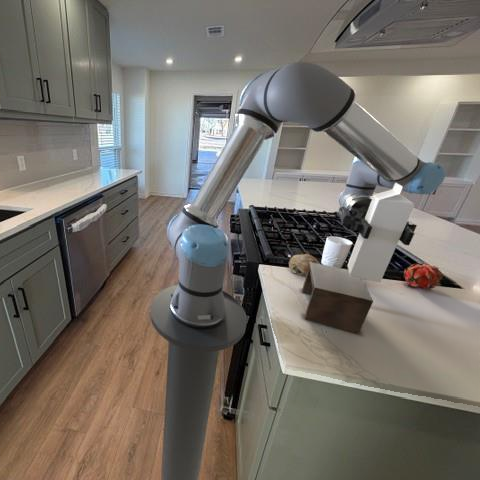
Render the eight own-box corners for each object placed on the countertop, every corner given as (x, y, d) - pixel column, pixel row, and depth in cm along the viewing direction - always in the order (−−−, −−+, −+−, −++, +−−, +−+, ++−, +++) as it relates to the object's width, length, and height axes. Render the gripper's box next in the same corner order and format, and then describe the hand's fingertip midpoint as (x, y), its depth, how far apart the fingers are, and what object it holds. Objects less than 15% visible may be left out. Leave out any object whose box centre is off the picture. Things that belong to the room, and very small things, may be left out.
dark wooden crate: (304, 319, 67) (314, 287, 63) (301, 290, 80) (310, 262, 76) (358, 334, 63) (373, 301, 59) (346, 300, 75) (358, 271, 71)
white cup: (332, 259, 100) (339, 235, 96) (348, 269, 93) (358, 244, 89) (314, 260, 99) (321, 236, 95) (330, 270, 92) (338, 245, 88)
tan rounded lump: (283, 276, 94) (283, 261, 89) (296, 258, 98) (297, 243, 93) (312, 287, 88) (314, 272, 82) (324, 268, 92) (327, 252, 87)
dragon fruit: (429, 287, 86) (406, 298, 83) (409, 265, 90) (387, 275, 86) (457, 278, 79) (433, 290, 75) (435, 255, 82) (411, 265, 79)
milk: (349, 275, 61) (383, 185, 53) (347, 265, 66) (377, 180, 57) (381, 283, 59) (422, 188, 50) (376, 271, 63) (413, 183, 55)
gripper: (399, 227, 70) (440, 262, 51) (320, 216, 78) (329, 243, 59) (410, 200, 67) (458, 227, 48) (327, 192, 75) (340, 212, 56)
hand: (388, 235), depth 53 cm, fingers closed on milk, 6 cm apart
